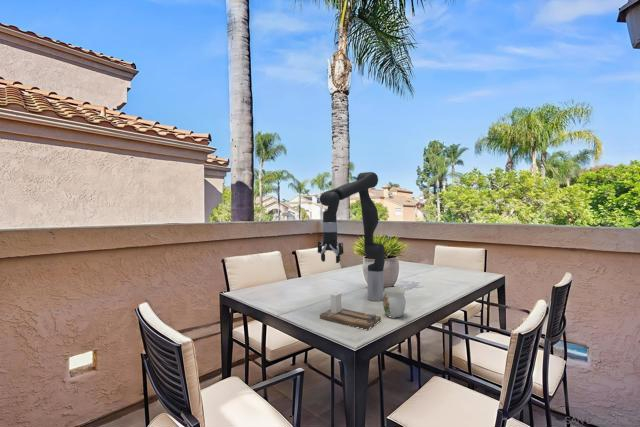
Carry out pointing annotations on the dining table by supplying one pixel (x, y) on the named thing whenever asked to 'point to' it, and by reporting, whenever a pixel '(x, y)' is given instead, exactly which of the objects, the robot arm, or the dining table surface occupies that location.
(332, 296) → the slider tab
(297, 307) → the dining table surface
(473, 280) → the dining table surface
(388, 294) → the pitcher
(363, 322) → the board
